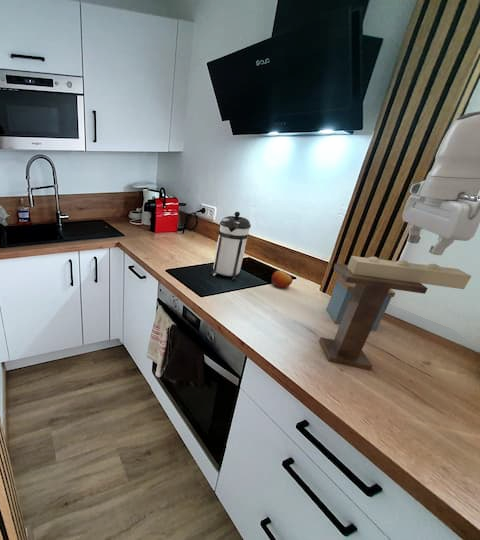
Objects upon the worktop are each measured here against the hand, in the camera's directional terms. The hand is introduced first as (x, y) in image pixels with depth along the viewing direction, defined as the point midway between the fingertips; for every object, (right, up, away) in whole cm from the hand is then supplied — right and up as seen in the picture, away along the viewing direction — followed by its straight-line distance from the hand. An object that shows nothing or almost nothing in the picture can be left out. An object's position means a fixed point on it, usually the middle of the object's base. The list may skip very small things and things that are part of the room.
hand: (422, 248), depth 70 cm
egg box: (-3, -7, +2) cm, 8 cm away
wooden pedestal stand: (-9, -30, +14) cm, 35 cm away
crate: (+8, -23, +32) cm, 40 cm away
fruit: (-4, -13, +55) cm, 57 cm away
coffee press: (-24, -7, +67) cm, 71 cm away
